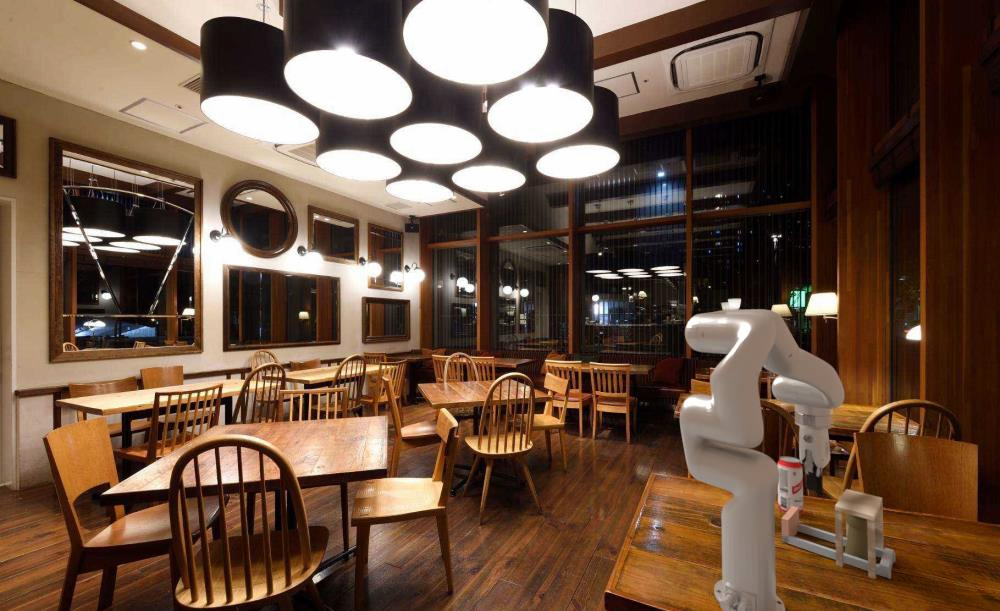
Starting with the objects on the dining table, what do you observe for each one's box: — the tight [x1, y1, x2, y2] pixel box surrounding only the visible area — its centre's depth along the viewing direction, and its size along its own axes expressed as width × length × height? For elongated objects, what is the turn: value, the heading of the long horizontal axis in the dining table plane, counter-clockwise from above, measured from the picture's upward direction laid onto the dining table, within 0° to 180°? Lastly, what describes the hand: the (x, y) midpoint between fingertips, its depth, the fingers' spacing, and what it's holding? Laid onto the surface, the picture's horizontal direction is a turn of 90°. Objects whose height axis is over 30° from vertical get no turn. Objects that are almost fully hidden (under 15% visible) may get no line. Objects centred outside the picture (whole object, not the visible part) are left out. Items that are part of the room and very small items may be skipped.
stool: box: [834, 488, 885, 580], centre depth 101 cm, size 7×14×14 cm, turn 132°
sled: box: [780, 506, 896, 580], centre depth 104 cm, size 21×10×6 cm, turn 42°
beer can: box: [776, 455, 804, 517], centre depth 125 cm, size 6×6×16 cm
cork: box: [844, 513, 878, 564], centre depth 101 cm, size 6×6×11 cm
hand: (814, 489), depth 108 cm, fingers closed
